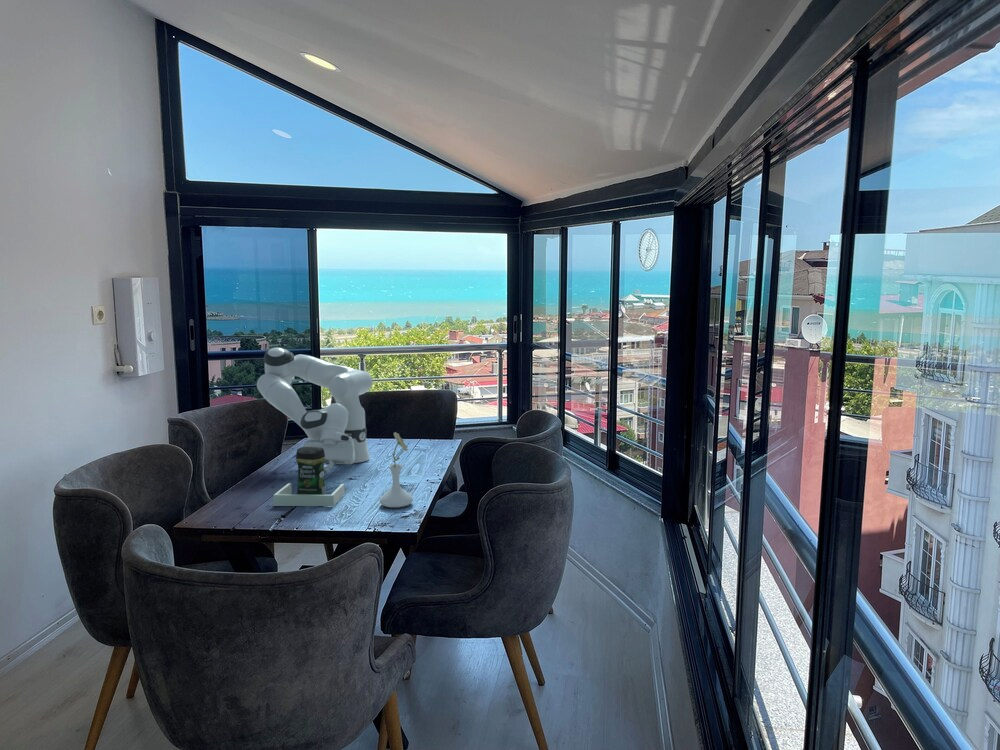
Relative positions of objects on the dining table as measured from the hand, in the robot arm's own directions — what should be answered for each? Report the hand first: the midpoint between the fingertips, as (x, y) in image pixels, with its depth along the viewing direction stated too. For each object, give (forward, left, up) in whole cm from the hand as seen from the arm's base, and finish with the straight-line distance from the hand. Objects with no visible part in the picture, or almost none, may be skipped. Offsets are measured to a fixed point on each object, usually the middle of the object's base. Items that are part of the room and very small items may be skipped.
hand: (324, 472), depth 247 cm
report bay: (+9, -15, -5) cm, 19 cm away
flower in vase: (+38, -3, -6) cm, 39 cm away
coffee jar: (+8, -13, -6) cm, 16 cm away
